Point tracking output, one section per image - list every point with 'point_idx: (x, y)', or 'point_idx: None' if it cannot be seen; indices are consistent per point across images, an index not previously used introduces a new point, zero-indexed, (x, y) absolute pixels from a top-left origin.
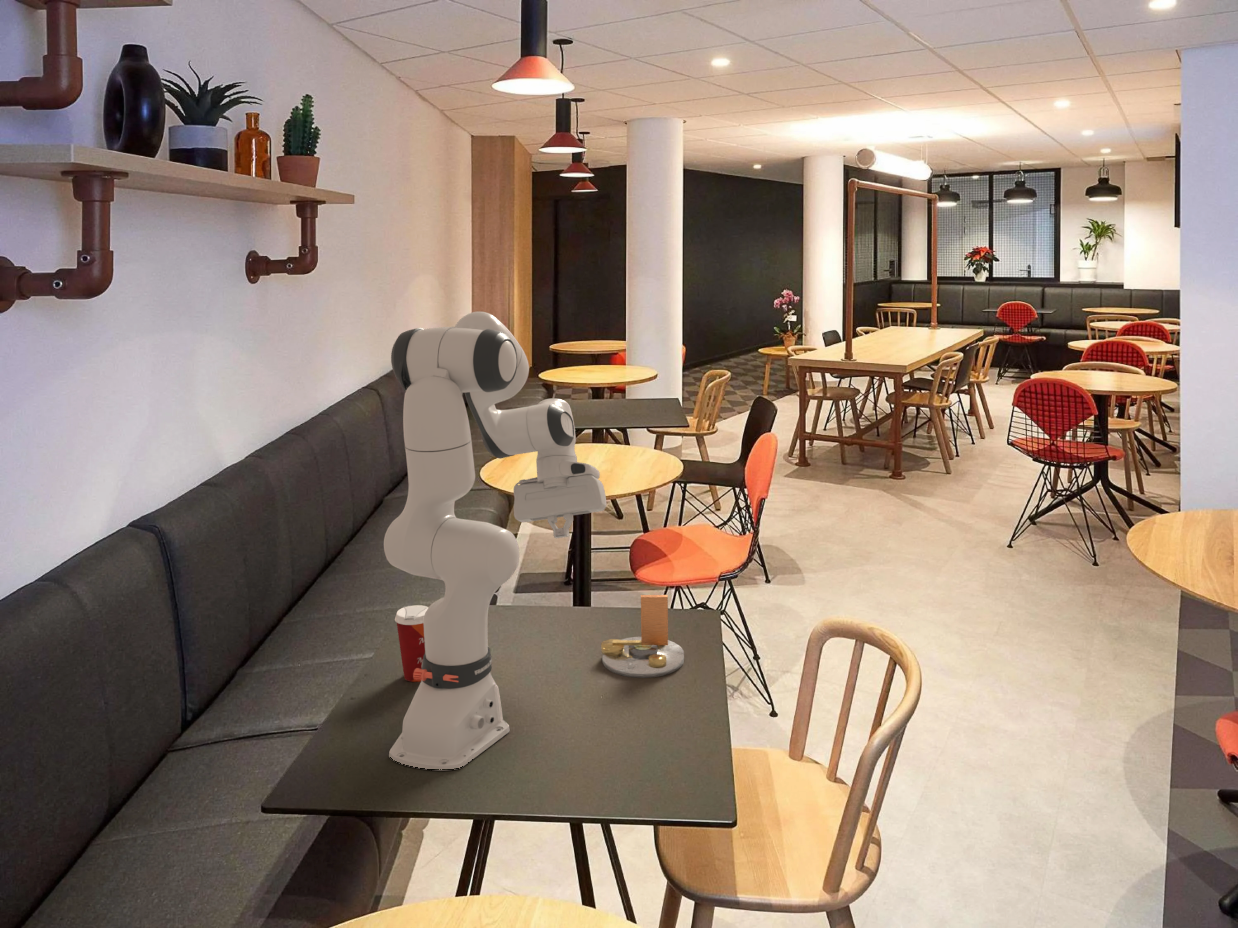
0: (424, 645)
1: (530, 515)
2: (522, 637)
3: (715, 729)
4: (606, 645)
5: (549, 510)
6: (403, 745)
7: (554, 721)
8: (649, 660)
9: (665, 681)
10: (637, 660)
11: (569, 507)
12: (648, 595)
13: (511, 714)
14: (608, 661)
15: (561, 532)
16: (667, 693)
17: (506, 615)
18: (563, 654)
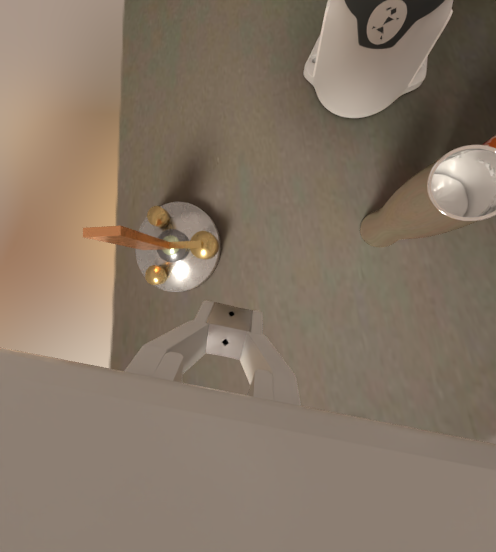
0: (485, 142)
1: (466, 454)
2: (324, 312)
3: (123, 111)
4: (209, 239)
5: (282, 444)
6: None
7: (260, 102)
8: (164, 211)
9: (159, 198)
10: (180, 227)
11: (58, 401)
12: (109, 233)
13: (306, 110)
14: (210, 223)
15: (223, 311)
16: (158, 173)
17: (360, 391)
18: (265, 260)
